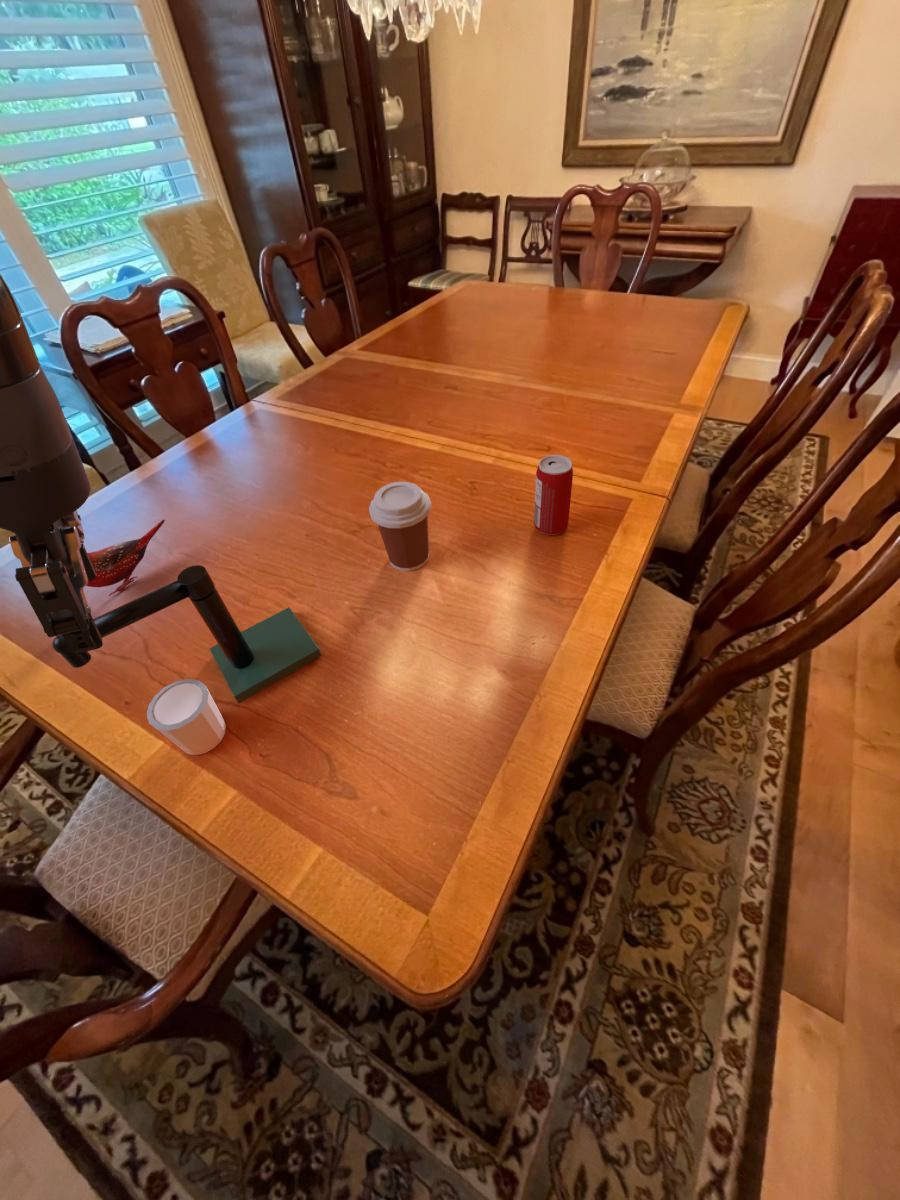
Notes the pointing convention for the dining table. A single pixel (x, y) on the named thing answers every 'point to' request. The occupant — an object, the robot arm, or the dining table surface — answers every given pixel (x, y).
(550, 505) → the soda can
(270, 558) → the dining table surface
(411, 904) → the dining table surface
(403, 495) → the coffee cup
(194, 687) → the shot glass
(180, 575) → the spout
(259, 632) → the faucet
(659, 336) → the dining table surface
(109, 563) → the decorative bird figurine
